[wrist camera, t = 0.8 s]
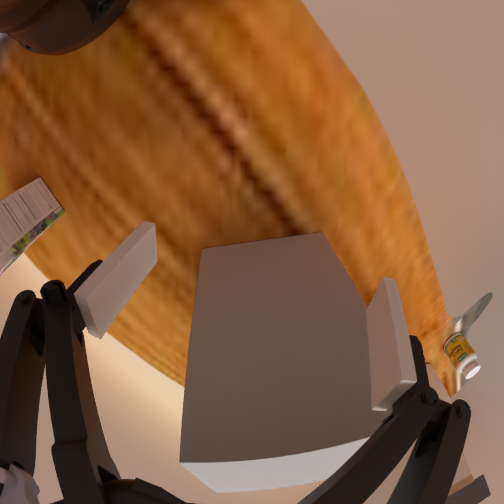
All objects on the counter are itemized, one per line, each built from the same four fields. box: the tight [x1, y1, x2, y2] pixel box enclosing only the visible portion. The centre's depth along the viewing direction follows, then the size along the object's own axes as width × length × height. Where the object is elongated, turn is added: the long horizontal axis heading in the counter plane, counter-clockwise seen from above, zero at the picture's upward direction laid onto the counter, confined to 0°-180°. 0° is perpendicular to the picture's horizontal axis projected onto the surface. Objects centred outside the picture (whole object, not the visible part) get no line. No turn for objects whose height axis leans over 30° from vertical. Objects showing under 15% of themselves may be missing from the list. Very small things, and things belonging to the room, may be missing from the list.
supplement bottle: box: [444, 333, 480, 379], centre depth 44 cm, size 5×5×10 cm
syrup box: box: [0, 177, 64, 275], centre depth 22 cm, size 6×6×14 cm
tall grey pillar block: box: [180, 232, 392, 492], centre depth 25 cm, size 9×14×24 cm, turn 97°
